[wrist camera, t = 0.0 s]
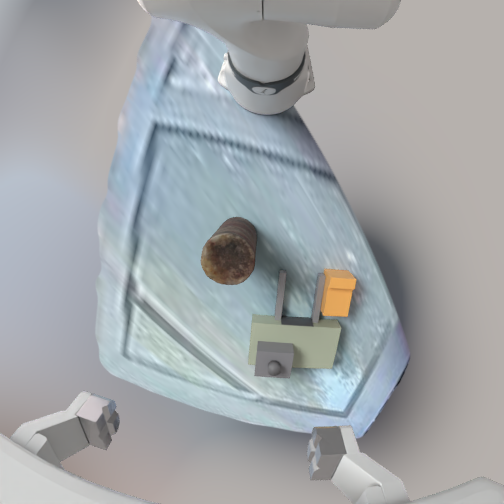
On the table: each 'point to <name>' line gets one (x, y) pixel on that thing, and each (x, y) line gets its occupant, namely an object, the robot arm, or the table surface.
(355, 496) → the robot arm
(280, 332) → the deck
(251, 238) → the candle
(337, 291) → the orange lidded box
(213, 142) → the table surface
